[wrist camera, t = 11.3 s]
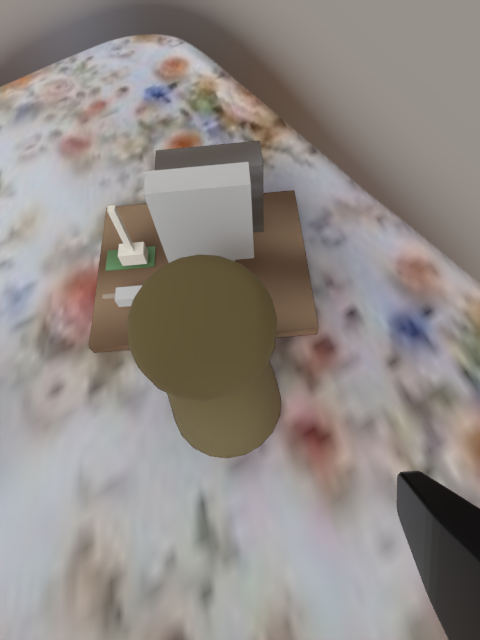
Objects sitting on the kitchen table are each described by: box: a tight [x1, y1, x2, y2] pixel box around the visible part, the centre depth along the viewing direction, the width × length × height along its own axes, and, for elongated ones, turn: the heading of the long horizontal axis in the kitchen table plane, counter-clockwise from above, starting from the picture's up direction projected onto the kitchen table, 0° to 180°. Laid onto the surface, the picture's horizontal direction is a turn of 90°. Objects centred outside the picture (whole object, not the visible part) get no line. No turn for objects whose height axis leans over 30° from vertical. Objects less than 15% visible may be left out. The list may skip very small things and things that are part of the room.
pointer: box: [107, 205, 148, 266], centre depth 24 cm, size 1×2×5 cm, turn 93°
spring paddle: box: [115, 162, 254, 307], centre depth 20 cm, size 2×8×10 cm, turn 94°
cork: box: [127, 254, 281, 458], centre depth 17 cm, size 6×6×11 cm
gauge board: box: [89, 141, 318, 353], centre depth 24 cm, size 11×14×6 cm
